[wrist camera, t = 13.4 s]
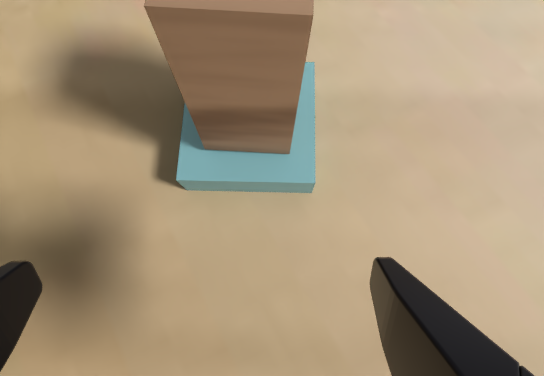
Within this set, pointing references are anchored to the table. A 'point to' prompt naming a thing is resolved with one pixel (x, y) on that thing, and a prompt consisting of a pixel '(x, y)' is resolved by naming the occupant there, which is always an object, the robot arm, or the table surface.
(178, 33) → the walnut block
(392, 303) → the robot arm
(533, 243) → the table surface
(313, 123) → the base brick
